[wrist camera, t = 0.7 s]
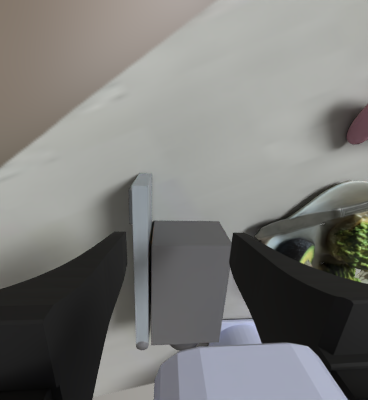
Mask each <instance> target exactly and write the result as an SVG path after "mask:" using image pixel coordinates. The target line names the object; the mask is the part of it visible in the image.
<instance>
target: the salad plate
mask: <svg viewBox="0 0 368 400" xmlns="http://www.w3.org/2000/svg"><path fill="white" fill-rule="evenodd" d="M324 222H325V224H324V225H320V224H322V223H324ZM254 237H255V238H257V239H258V240H261V243H263V244H265V245H267V246H268V247H270V248H272V249H274V250H276V251H278V252H279V253H281V254H283V255H285V256H287V257H289V258H292V259H294V260H296V261H298V262H301V263H303V264H305V265H308V266H310V267H313V268H316V269H318V270H321V271H324V272H327V273H330V274H333V275H336V276H340V277H343V278H347V279H350V280H354V281H358V282H362V283H366V284H368V182H366V181H345V182H343V183H340V184H337V185H335V186H334V187H332V188H330V189H328V190H326V191H324V192H323V193H321V194H320V195H318V196H317V197H315V198H314V199H313V200H312V201H310V202H309V203H308V204H306V205H305V206H303V207H302V208H301V209H299V210H298V211H297V212H295V213H294V214H293V215H291V216H289V217H288V218H286V219H282V220H279V221H276V222H273V223H271V224H269V225H266V226H264V227H262V228H261V229H260V230H259V232H258V233H257V234H256V235H255V236H254ZM322 262H325V263H323V264H320V263H322ZM355 268H357V269H361V272H360V273H358V274H357V275H356V276H355V272H356V271H355V270H356V269H355Z"/></svg>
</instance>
